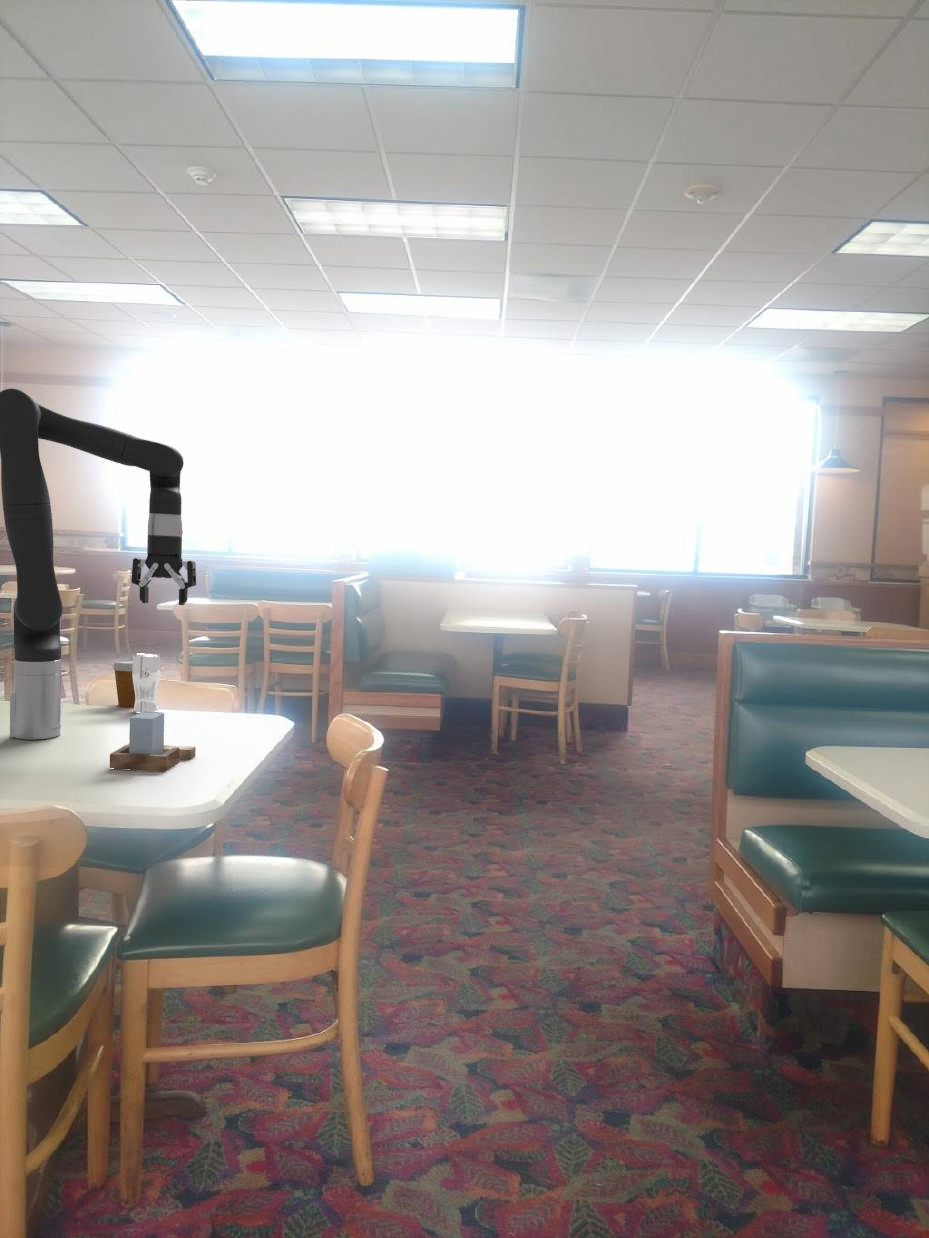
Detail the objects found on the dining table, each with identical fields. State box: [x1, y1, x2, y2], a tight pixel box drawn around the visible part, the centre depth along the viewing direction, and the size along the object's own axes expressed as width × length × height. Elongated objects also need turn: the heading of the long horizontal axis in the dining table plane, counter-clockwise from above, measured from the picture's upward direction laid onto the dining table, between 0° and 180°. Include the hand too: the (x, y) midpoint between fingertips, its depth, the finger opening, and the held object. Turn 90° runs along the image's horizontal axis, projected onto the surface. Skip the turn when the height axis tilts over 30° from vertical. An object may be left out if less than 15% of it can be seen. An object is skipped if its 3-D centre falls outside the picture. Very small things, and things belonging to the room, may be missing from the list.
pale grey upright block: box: [128, 711, 165, 755], centre depth 165 cm, size 4×6×10 cm
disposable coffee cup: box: [112, 658, 135, 708], centre depth 225 cm, size 10×10×12 cm
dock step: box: [126, 743, 196, 760], centre depth 172 cm, size 14×3×2 cm, turn 90°
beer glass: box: [132, 653, 162, 713], centre depth 216 cm, size 7×7×15 cm
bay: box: [109, 744, 180, 772], centre depth 164 cm, size 11×8×3 cm
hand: (163, 604), depth 193 cm, fingers open, 8 cm apart
